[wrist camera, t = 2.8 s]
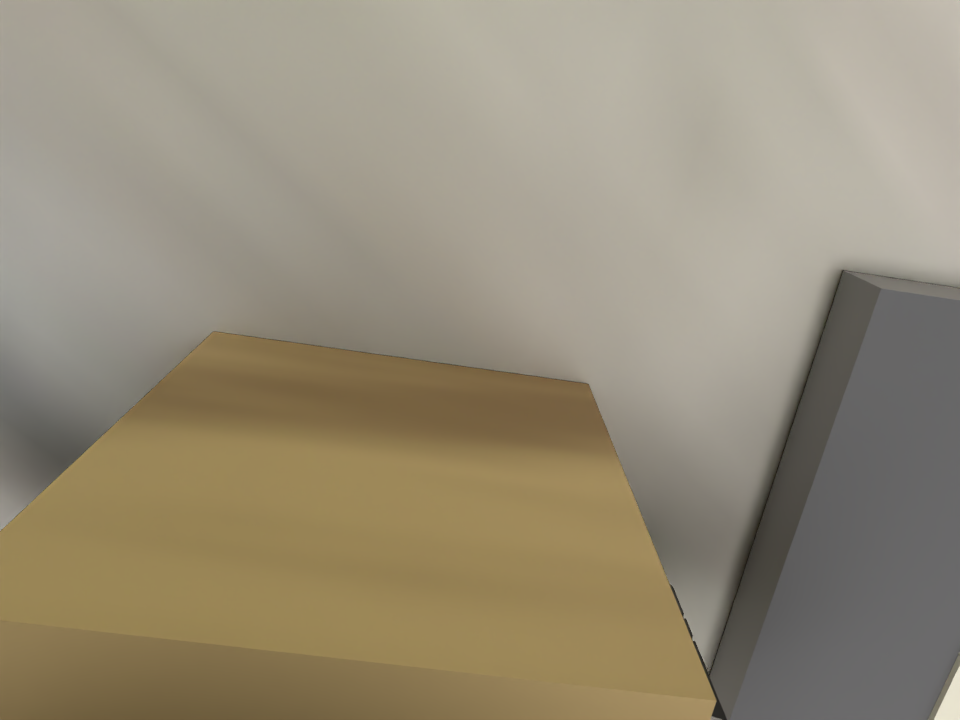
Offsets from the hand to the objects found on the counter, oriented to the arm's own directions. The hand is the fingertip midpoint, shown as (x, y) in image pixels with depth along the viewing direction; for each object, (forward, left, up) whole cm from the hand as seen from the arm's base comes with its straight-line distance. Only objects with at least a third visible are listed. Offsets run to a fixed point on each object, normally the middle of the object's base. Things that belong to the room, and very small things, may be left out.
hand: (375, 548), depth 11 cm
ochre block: (0, 0, -1) cm, 1 cm away
